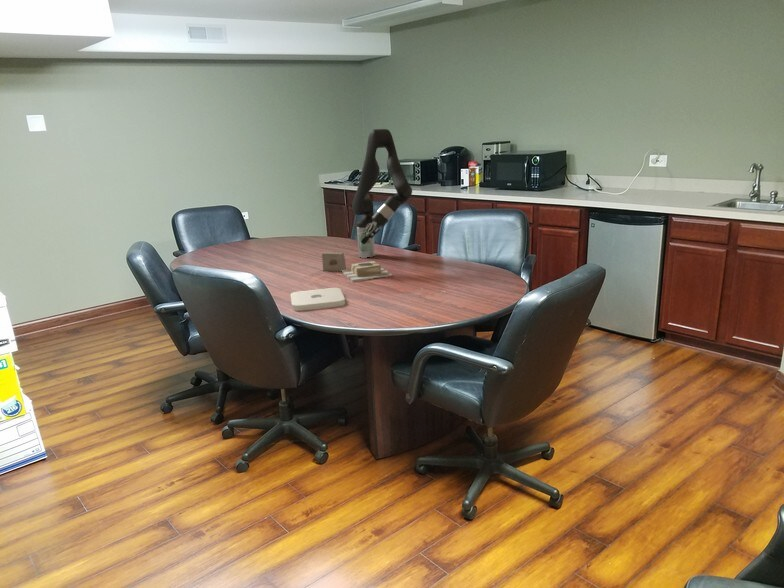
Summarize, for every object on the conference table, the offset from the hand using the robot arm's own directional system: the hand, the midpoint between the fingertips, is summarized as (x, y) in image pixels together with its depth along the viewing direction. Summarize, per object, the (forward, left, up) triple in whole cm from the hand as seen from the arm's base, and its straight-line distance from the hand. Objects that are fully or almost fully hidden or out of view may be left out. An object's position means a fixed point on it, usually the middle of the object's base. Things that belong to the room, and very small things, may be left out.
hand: (361, 242), depth 285 cm
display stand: (0, +1, -17) cm, 17 cm away
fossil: (-17, -11, -17) cm, 26 cm away
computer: (+34, -30, -17) cm, 49 cm away
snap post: (0, +1, -4) cm, 4 cm away
